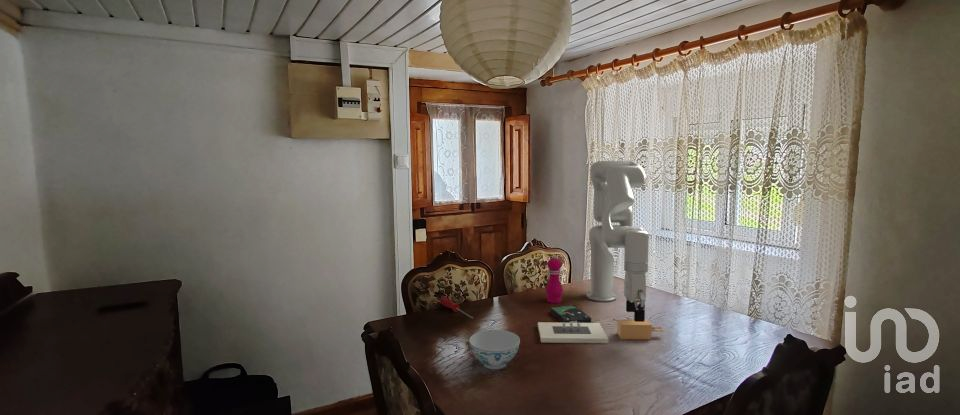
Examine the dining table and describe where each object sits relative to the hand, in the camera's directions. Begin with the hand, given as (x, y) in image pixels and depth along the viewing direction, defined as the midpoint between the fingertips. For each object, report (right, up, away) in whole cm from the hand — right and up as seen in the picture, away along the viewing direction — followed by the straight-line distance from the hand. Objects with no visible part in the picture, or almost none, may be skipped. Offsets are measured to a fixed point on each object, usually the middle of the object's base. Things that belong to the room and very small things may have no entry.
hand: (635, 316), depth 151 cm
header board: (-21, -7, +4) cm, 22 cm away
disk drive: (-18, -6, +19) cm, 27 cm away
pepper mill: (-21, -3, +39) cm, 45 cm away
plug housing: (+2, -7, +1) cm, 8 cm away
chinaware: (-48, -10, -18) cm, 52 cm away
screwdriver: (-62, -5, +27) cm, 67 cm away
